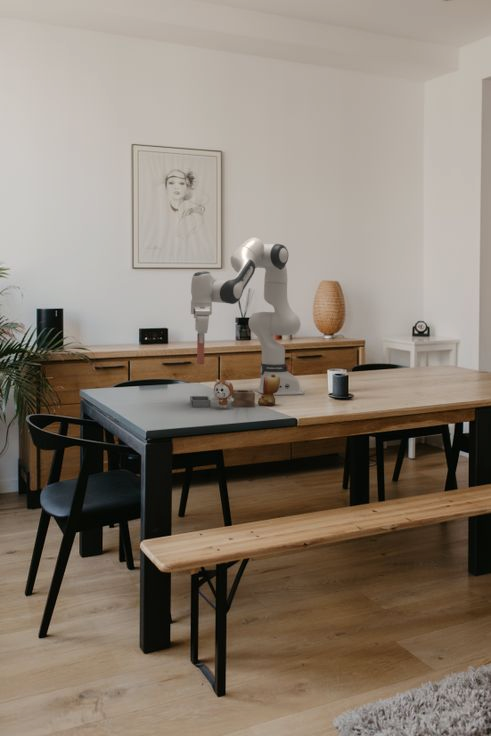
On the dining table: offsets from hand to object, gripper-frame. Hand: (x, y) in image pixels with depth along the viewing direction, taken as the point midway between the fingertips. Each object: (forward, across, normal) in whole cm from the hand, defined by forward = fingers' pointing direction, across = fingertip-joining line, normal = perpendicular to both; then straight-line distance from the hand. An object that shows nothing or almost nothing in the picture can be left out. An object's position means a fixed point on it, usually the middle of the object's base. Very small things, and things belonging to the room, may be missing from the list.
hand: (200, 342), depth 294 cm
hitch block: (+27, +1, +18) cm, 33 cm away
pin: (+9, 0, 0) cm, 9 cm away
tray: (+27, 0, 0) cm, 27 cm away
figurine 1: (+27, +9, +9) cm, 30 cm away
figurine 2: (+27, 0, +30) cm, 40 cm away
